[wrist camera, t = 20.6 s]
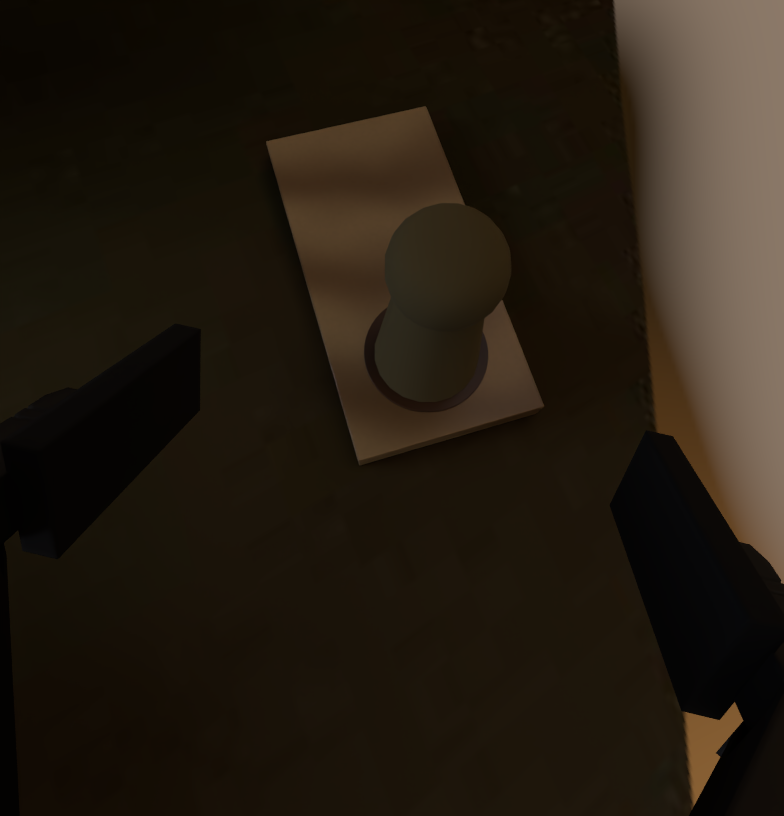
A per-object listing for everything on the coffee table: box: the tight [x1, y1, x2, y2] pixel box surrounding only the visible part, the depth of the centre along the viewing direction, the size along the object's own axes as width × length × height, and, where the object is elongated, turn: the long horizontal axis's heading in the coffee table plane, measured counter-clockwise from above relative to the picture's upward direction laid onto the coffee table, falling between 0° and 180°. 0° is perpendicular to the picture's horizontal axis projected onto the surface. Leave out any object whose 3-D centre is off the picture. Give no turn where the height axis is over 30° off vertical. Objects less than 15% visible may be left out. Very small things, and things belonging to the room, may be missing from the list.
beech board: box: [266, 106, 544, 465], centre depth 34 cm, size 22×11×2 cm, turn 17°
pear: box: [375, 203, 511, 402], centre depth 26 cm, size 6×6×11 cm
